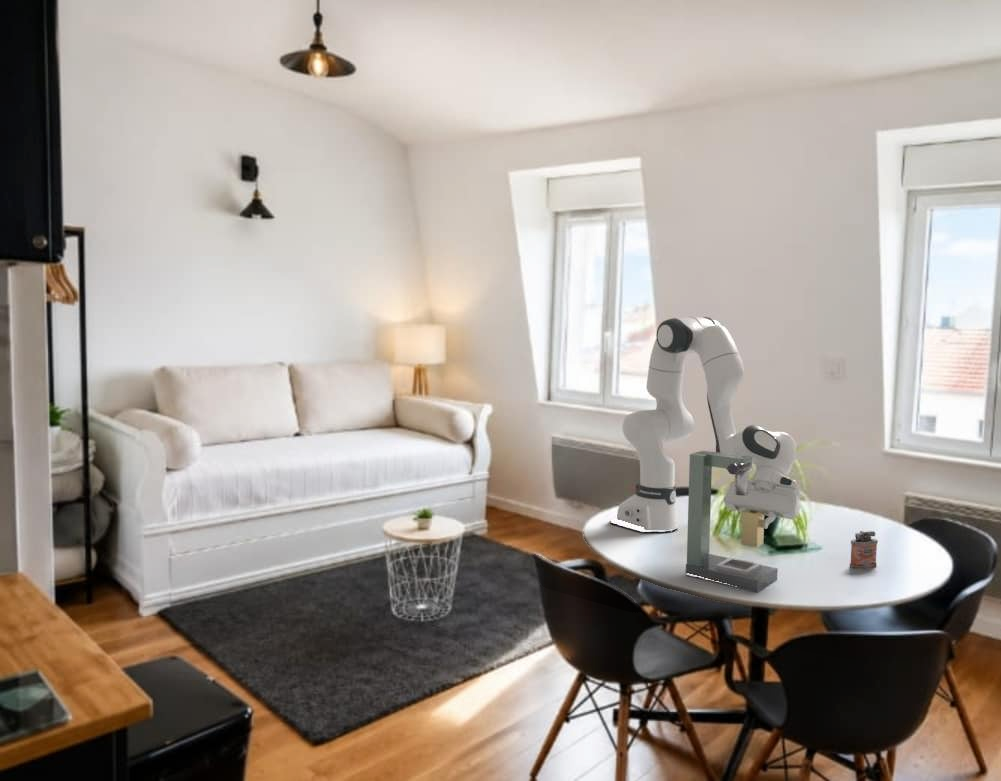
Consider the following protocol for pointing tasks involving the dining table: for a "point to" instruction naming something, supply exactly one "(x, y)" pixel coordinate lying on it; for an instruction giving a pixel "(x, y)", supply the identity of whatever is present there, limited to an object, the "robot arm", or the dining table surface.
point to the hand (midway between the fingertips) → (753, 525)
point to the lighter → (863, 550)
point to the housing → (752, 528)
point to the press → (699, 524)
